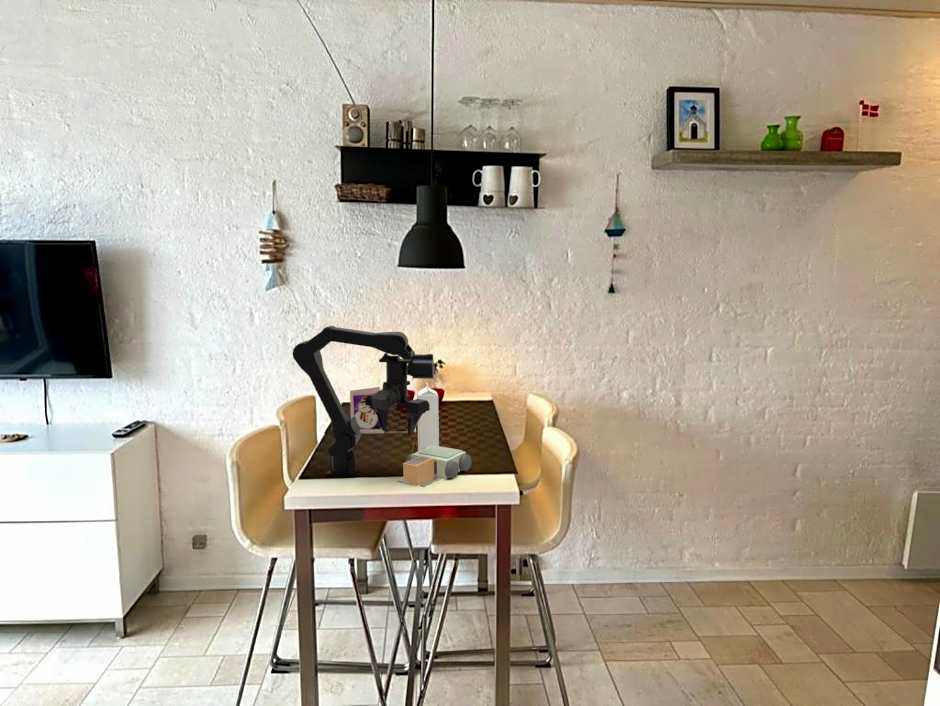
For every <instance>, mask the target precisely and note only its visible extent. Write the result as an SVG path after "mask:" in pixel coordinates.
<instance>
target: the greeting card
mask: <svg viewBox="0 0 940 706" xmlns="http://www.w3.org/2000/svg"><path fill="white" fill-rule="evenodd" d="M380 390H381V387H380V386H377V387H376V386H375V387H368V388H361V389H360V388H359V389H354V390H349V396H350V397H349V401H350V402H349V403H350V418H352V417H354V416H355V417H356V420H357V423H358V425H359V426H360V427H361V429H360V432H361V434H385V431H383V430H382V428H381V425H380V422H379V419H378V417H377V415H376V413H375V412H374V411H373V410H372V409H370V408H369V406H367V405H365V399H366V397H367V395H370V394H374V393H377V392H378V391H380Z"/></svg>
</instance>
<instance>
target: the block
mask: <svg viewBox="0 0 940 706" xmlns="http://www.w3.org/2000/svg"><path fill="white" fill-rule="evenodd" d="M402 470H403V471H402V472H403V476H402V477H403V481H405V482H409V483H414V484H418V483H420V482H422V481H424V480H426V479H429V478H431V477H433V476H434V458H430V457H425V456H419V457H417V458H414V459H412V460H410V461H407V462H406V461H405V462H403V463H402Z"/></svg>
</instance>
